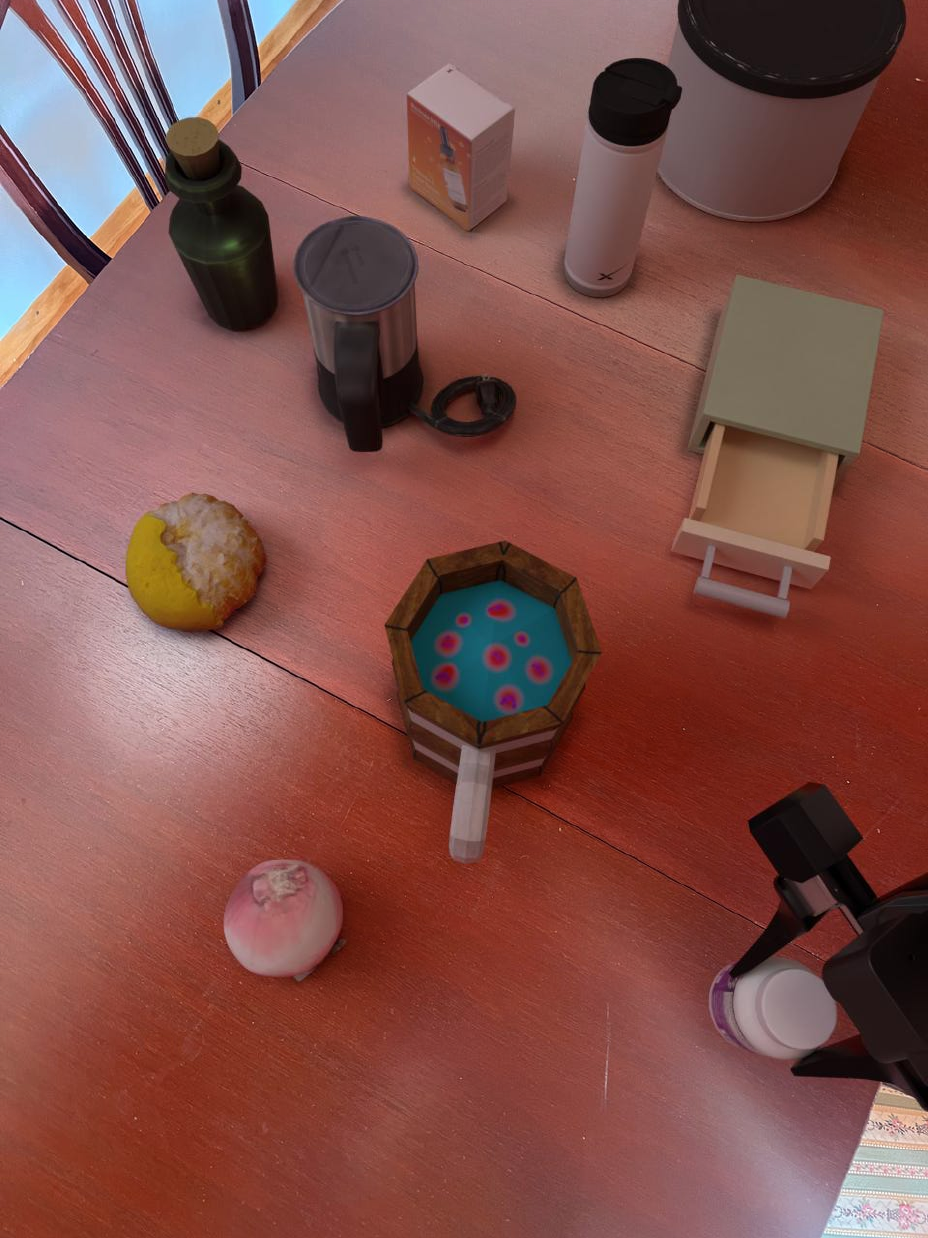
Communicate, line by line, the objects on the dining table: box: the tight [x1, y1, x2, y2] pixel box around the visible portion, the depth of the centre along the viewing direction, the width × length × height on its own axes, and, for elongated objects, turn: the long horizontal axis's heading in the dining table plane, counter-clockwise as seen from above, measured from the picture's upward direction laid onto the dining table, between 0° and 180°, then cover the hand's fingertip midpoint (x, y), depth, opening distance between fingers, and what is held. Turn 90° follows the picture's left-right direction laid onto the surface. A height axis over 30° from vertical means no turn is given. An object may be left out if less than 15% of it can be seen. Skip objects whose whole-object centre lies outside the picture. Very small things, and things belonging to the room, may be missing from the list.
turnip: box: [223, 859, 347, 983], centre depth 63 cm, size 8×8×7 cm
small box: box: [406, 62, 516, 232], centre depth 86 cm, size 8×6×10 cm
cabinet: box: [686, 274, 885, 489], centre depth 81 cm, size 15×13×6 cm
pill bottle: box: [708, 956, 838, 1061], centre depth 55 cm, size 5×5×10 cm
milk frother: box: [292, 215, 517, 453], centre depth 76 cm, size 14×16×15 cm
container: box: [657, 0, 907, 223], centre depth 87 cm, size 19×19×15 cm
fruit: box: [125, 492, 268, 633], centre depth 74 cm, size 11×10×8 cm
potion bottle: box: [164, 116, 279, 331], centre depth 78 cm, size 8×8×18 cm
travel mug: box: [563, 57, 682, 298], centre depth 79 cm, size 6×7×20 cm
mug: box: [383, 540, 603, 865], centre depth 65 cm, size 20×14×15 cm
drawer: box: [671, 421, 839, 620], centre depth 76 cm, size 18×11×4 cm, turn 163°
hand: (762, 1020), depth 53 cm, fingers closed on pill bottle, 5 cm apart
